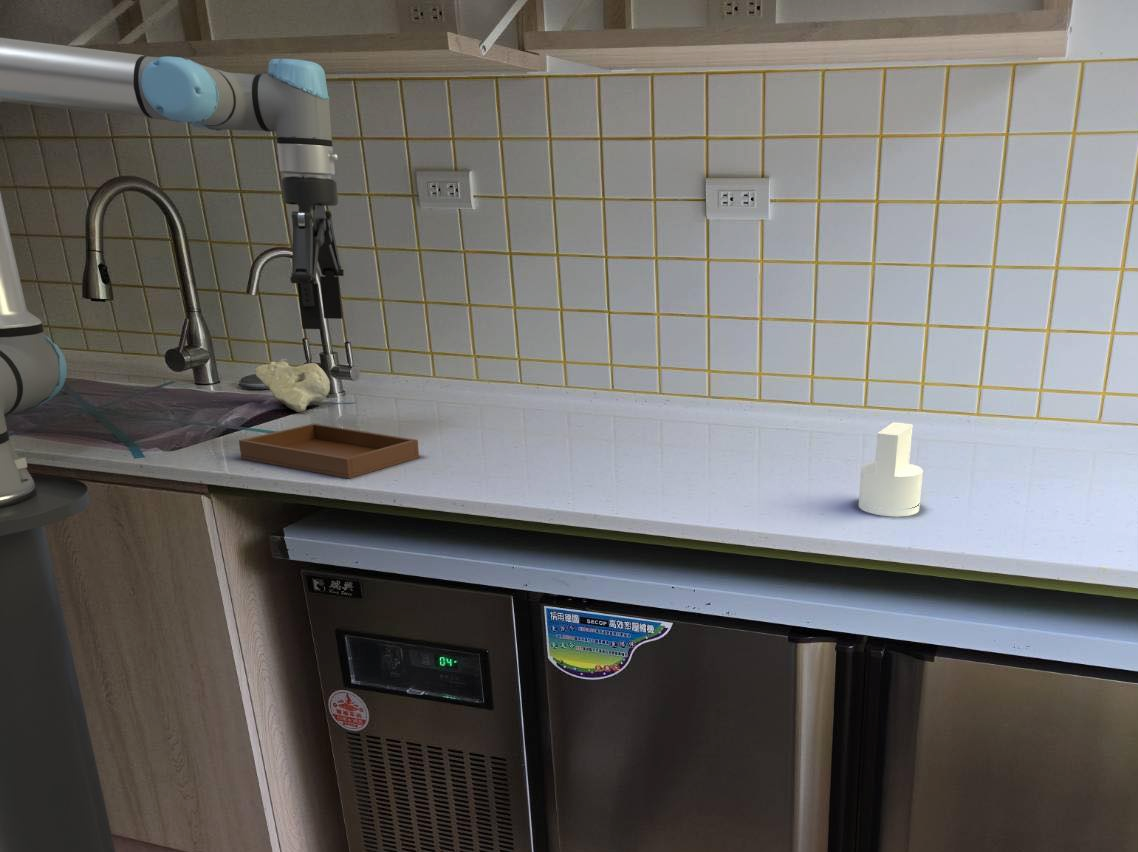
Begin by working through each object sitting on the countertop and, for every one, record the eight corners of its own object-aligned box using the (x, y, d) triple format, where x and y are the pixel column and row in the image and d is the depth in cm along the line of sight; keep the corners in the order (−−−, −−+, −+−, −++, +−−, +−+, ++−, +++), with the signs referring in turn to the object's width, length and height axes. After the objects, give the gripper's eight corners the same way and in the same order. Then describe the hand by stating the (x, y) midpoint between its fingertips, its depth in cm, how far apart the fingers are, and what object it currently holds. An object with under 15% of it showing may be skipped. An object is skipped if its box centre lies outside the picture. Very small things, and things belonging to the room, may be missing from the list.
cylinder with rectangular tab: (910, 519, 141) (918, 438, 137) (850, 510, 144) (856, 430, 140) (925, 504, 148) (933, 426, 144) (868, 495, 152) (874, 419, 148)
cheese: (340, 420, 199) (341, 365, 206) (319, 399, 192) (321, 342, 200) (271, 441, 200) (274, 385, 208) (248, 420, 194) (252, 363, 201)
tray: (349, 478, 152) (346, 459, 151) (241, 458, 161) (238, 440, 160) (419, 457, 165) (417, 439, 164) (316, 440, 174) (314, 423, 173)
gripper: (314, 176, 133) (330, 334, 141) (352, 179, 157) (364, 314, 164) (256, 173, 132) (275, 333, 139) (303, 177, 155) (317, 313, 162)
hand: (323, 323), depth 152 cm, fingers open, 13 cm apart
